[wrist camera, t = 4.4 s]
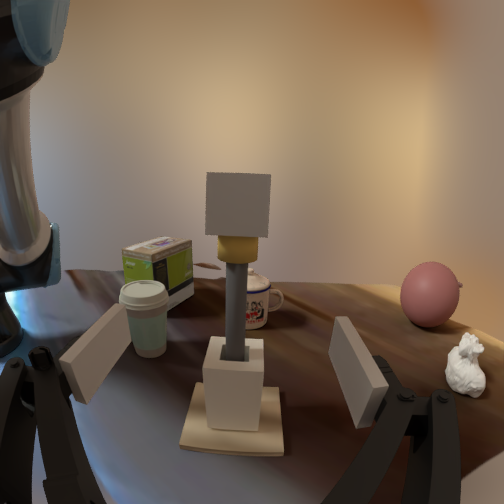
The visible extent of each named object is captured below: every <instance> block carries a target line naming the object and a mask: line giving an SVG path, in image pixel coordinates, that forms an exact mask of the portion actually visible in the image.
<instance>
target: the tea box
mask: <svg viewBox="0 0 504 504" xmlns="http://www.w3.org/2000/svg"><path fill="white" fill-rule="evenodd" d="M122 258H123V268H124V276H125V284H128V283H130V282H134V281H140V280H153V281H158V282H160V283H162V284H163V285H164V286H165V289H166V291H167V292H168V296H169V300H168V302H167V311H168V310H170V309H171V308H173V307H175V306H176V305H178V304H179V303H181V302H182V301H184V300H185V299H187V298H189V297H190V296H192V295H193V294H194V283H193V262H192V241H191V240H187V239H179V238H170V237H163V236H161V237H158V238H155V239H151V240H148V241H145V242H141V243H138V244H135V245H132V246H129V247H126V248H122Z"/></svg>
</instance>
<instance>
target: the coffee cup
mask: <svg viewBox="0 0 504 504" xmlns="http://www.w3.org/2000/svg"><path fill="white" fill-rule="evenodd" d="M168 300H169V296H168V292H167V291H166V289H165V286H164V285H163V284H162V283H160V282H158V281H153V280H140V281H134V282H130V283H128V284H126V285H124V286H123V287H122V288H121V293H120V296H119V303H120V304H124V305H126V311H127V318H128V324H129V329H130V335H131V339H132V342H133V345H134V348H135V351H136V353H137V354H138V355H140V356H142V357H145V358H155V357H158V356H160V355H162V354H163V353H164V352H165V351H166V335H167V302H168Z"/></svg>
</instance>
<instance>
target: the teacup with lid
mask: <svg viewBox="0 0 504 504" xmlns="http://www.w3.org/2000/svg"><path fill="white" fill-rule="evenodd" d="M270 287H271V284H270V281H269V280H268V279H267V278H266V277H263V276H261V275H258V274H256V273H254V270H253V269H252V268H248V281H247V305H246V329H247V330H248V329H257V328H260V327H262V326H263V325H265V323H266V322H267V313H268V312H271V311H275V310H277V309H279V308H280V306H281V305H282V303H283V294H282V293H281V292H280V291H279V290H277V289H270ZM269 293H275V294H278V295H279V296H280V300H279V302H278V303H277V305H275V306H273V307H268V300H269Z"/></svg>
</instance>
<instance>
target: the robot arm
mask: <svg viewBox="0 0 504 504" xmlns="http://www.w3.org/2000/svg"><path fill="white" fill-rule="evenodd" d="M69 4H70V0H0V357H2V356H4V355H6V354H8V353H10V352H11V351H13V350H14V349H15V348H16V347H17V346H18V345H19V344H20V342H21V340H22V338H23V331H22V328H21V325H20V322H19V320H18V319H17V317H16V316H15V314H14V312H13V311H12V309H11V307H10V306H9V304H8V302H7V300H6V297H5V292H11V291H17V290H24V289H31V288H38V287H44V288H46V287H47V286H50V285H55V284H57V283H59V281H60V279H61V265H60V241H59V226H58V224H56V223H52V222H50V223H49V220H48V218H47V217H46V216H45V214H43V213H42V212H41V211H40V210H39V209H38V204H37V198H36V191H35V185H34V177H33V169H32V159H31V147H30V126H29V125H30V122H29V109H30V106H29V105H30V90H31V89H32V88H33V87H34V86H35V85H36V84H37V83H38V81H40V79H41V78H42V76H43V73H44V66H46V65H48V64H49V63H52V62H53V61H54V60H55V59H56V58H57V56H58V54H59V51H60V48H61V44H62V40H63V34H64V29H65V26H66V21H67V15H68V9H69ZM131 341H132V340H131V335H130V329H129V324H128V318H127V311H126V305H124V304H116V303H115V304H114V305H113V306H112V307H111V308H110V309H109V310H108V311H107V312H106V313H105V314H104V315H103V316H102V317H101V318H100V319H99V320H98V321H97V322H95V323H94V324H93V325H92V326H91V327H90V328H89V329H88V330H87V331H86V332H85V333H84V334H83V335H82V336H78V337H76V338H74V339H72V340H71V341H70V342H69V343H68V344H67V345H66V346H65V347H64V348H63V349H62V350H61V351H60V352H59V353H58V354H57V355H56V356H55V357H54V358H52V355H51V352H50V350H49V348H47V347H44V346H40V347H36V348H34V349H32V350H31V351H30V352H29V354H28V356H29V358H30V361H31V363H32V366H33V367H32V366H26V365H25V363H24V360H23V359H22V358H19V357H15V358H11V359H10V360H8V361H7V363H6V364H5V366H4V369H3V371H2V373H1V375H0V504H32V463H33V452H34V441H35V434H36V427H37V429H38V436H39V442H40V448H41V453H42V458H43V463H44V468H45V472H46V477H47V479H46V480H43V487H44V491H45V494H46V498H47V502H48V504H106V502H105V500H104V498H103V496H102V493H101V491H100V489H99V487H98V484H97V482H96V480H95V477H94V475H93V472H92V470H91V467H90V464H89V462H88V459H87V456H86V453H85V450H84V447H83V444H82V441H81V438H80V434H79V431H78V428H77V424H76V420H75V416H74V412H73V408H72V404H71V401H70V399H69V396H70V395H71V394H73V396H74V398H75V400H76V401H78V402H81V403H83V404H86V405H87V404H88V403H89V401H90V400H91V398H92V397H93V395H94V394H95V392H96V391H97V389H98V388H99V386H100V385H101V383H102V382H103V381H104V379H105V378H106V376H107V375H108V373H109V372H110V370H111V369H112V368H113V366H114V365H115V363H116V362H117V361H118V359H119V358H120V356H121V355H122V354H123V352H124V351H125V349H126V348H127V347H128V345H129V344H130V342H131ZM328 354H329V356H330V359H331V361H332V364H333V367H334V369H335V372H336V375H337V377H338V380H339V383H340V385H341V388H342V391H343V394H344V396H345V399H346V402H347V405H348V407H349V410H350V413H351V416H352V419H353V421H354V424H355V427H356V429H357V428H364V427H370V426H371V424H372V422H373V420H374V419H375V421H376V425H375V426H374V428H373V430H372V432H371V433H370V435H369V437H368V438H367V440H366V442H365V443H364V445H363V446H362V448H361V450H360V451H359V453H358V454H357V456H356V457H355V459H354V460H353V462H352V463H351V465H350V466H349V468H348V469H347V470H346V472H345V473H344V475H343V476H342V477H341V479H340V480H339V481H338V483H337V484H336V485H335V487H334V488H333V489H332V491H331V492H330V493H329V494H328V496H327V497H326V498H325V499H324V500H323V502H322V503H321V504H368V503H369V501H370V500H371V498H372V496H373V495H374V493H375V491H376V490H377V488H378V486H379V484H380V483H381V481H382V479H383V477H384V475H385V474H386V472H387V470H388V468H389V466H390V464H391V462H392V460H393V458H394V456H395V454H396V452H397V449H398V447H399V445H400V443H401V441H402V438H403V436H411V438H410V449H409V458H408V466H407V473H406V479H405V485H404V491H403V496H402V501H401V504H460V494H461V454H460V439H459V428H458V419H457V411H456V404H455V398H454V396H453V394H452V393H451V392H449V391H447V390H444V389H438V390H435V391H434V392H433V393H432V395H431V397H418V396H417V395H416V393H415V392H414V391H413V390H411V389H409V388H404V387H403V386H402V385H401V383H400V382H399V380H398V378H397V377H396V375H395V374H394V372H393V371H392V369H391V367H390V366H389V364H388V363H387V361H386V360H385V359H383V358H382V357H381V356H379V355H378V356H371V354H370V353H369V351H368V349H367V348H366V346H365V344H364V343H363V341H362V339H361V338H360V336H359V334H358V333H357V331H356V330H355V328H354V326H353V325H352V323H351V321H350V320H349V318H348V317H336V318H335V324H334V329H333V334H332V339H331V344H330V348H329V353H328Z"/></svg>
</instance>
